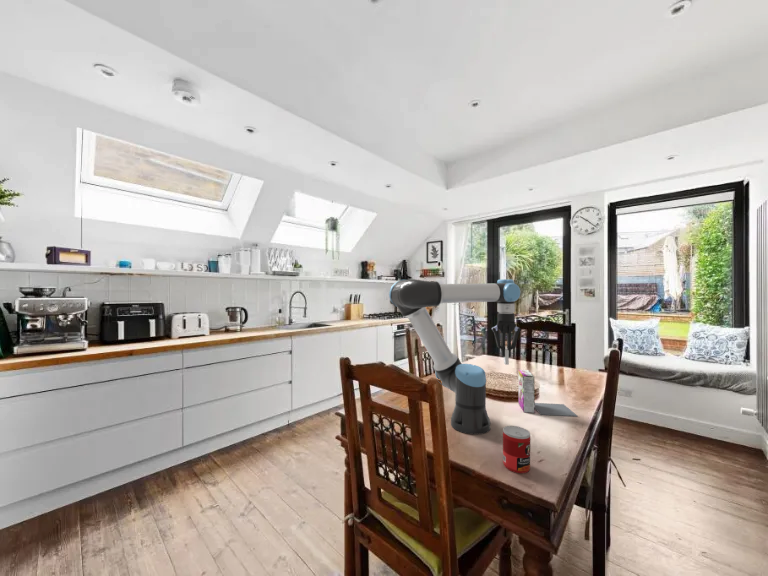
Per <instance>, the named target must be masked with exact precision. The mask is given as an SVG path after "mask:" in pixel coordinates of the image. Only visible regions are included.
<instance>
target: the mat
mask: <svg viewBox="0 0 768 576" xmlns="http://www.w3.org/2000/svg"><path fill="white" fill-rule="evenodd" d="M535 410H536V411H537V412H538V414H539V415H541V416H553V417H554V416H559V417H573V418H574V417H575V418H576V417H579V416H578V415H577V413H575V412H574V411H572V410H571V409H570V408H569V407H568V406H567V405H565V404H564V403H544V402H543V403H542V402H535Z"/></svg>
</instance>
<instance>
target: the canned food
mask: <svg viewBox="0 0 768 576" xmlns="http://www.w3.org/2000/svg"><path fill="white" fill-rule="evenodd" d="M502 463H503V466H504V467H505V468H506V469H507V470H508V471H510V472H513V473H516V474H527V473H528V472H529V471H530V470H531V432H530V431H529V430H528V429H526V428H524V427H521V426H517V425H507V426H504V427H503V428H502Z"/></svg>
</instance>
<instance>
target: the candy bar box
mask: <svg viewBox="0 0 768 576" xmlns="http://www.w3.org/2000/svg"><path fill="white" fill-rule="evenodd" d="M517 371H518V373H517V375H518V377H517V378H518V383H517V384H518V385H517V386H518V405H519V407H520V409H521V410H522V411H523V413H526V414H527V413H528V414H535V413H536V411H535V410H536V409H535V403H536V402H535V399H536V397H535V376H534V375H533V373H532V372H531V371H530V370H529V369H518V370H517Z"/></svg>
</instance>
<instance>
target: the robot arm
mask: <svg viewBox="0 0 768 576" xmlns="http://www.w3.org/2000/svg"><path fill="white" fill-rule="evenodd" d="M388 295H389V297H388V298H389V301H390V302H391V303H392V305H394V306H395V307H397V309H398V310H399V312H400V313H401V315H402V317H403V318H407V319H408V321H409V322H410V324H411V325H412V328H413V329H414V331H415V332H416V334H417V335H418V337H419V339H420V341H421V343H422V344H423V346H424V348H425V349H426V351H427V353H428V354H429V356H430V357H431V359H432V362H433V370H434V371H435V372H434V373H435V377H436V379H437V378H438V379H440V380H441V381H442V384H441V385H442V386H443V387H444V388H447V389H448V390H450V391H452V392H453V393H455V405H454V409H453V411H452V413H451V416H450V426H451V428H453V429H454V430H456V431H457V432H460V433H463V434H469V435H482V434H485V433H486V434H487V433H488V432H489V431H490V430H491V421H490V420H491V419H490V417H489V414H488V411H487V408H486V403H487V401H486V400H487V399H486V398H487V397H486V396H487V394H486V393H487V392H486V391H487V389H486V388H487V376H486V372H485V370H484V368H482V367H481V366H479V365H476V364H471V363H462V361H461V360H460V359H459V356H458V355H457V353H454V352H453V353H452V350H450V348H449V346H448V345H447V342H446V341H445V339H444V338H443V336H442V334H441V332H440V331H439V329H438V327H437V325H436V324H435V322H434V320H433V318H432V317H431V314H430V313H429V311H428V310H427V308H428V307H431V308H432V307H438V306H440V305H441V304H457V303H459V304H461V303H488V302H496V303H497V309H496V310H497V314H496V315H497V317H496V318H497V319H496V320H497V322H496V325H495V326H492V327H491V330H492V332H493V334H494V338H495V343H496V347H497V348H498V349H500V350H501V356H502V357H503V364H504V365H506V366H507V365H508V366H509V365H510V364H509V363H510V359H509V358H511V356H512V350H514V349H516V345H517V342H518V339H519V334H520V333H521V331H522V328H520V327H518V326H517V324H516V319H515V318H516V314H515V311H516V308H515V307H516V306H515V303H516V301H518V299H520V298H521V297H520V296H521V289H520V287H519V285H518V284H516V283H515V280H513V279H510V278H509V279H497V282H496V283H491V282H490V283H486V282H485V283H440V282H439V281H433V280H432V281H429V280H421V279H413V278H412V279H400V280H397V281H396V282H394V283H393V284H392V285H391V287H390V290H389V293H388ZM498 330H499V331H500V335H499V332H498ZM513 331H514V333H513ZM512 333H513V337H512ZM499 336H500V337H499ZM500 338H501V339H500ZM506 346H507V347H506Z"/></svg>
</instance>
